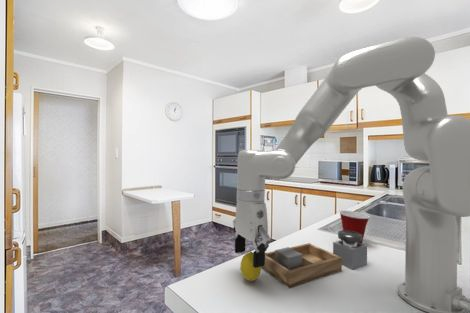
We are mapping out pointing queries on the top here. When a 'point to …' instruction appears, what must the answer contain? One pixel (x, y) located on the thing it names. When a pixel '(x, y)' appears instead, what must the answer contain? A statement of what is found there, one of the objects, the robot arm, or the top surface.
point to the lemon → (249, 267)
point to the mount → (351, 254)
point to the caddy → (301, 264)
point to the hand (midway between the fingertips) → (248, 258)
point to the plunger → (350, 238)
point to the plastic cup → (354, 221)
